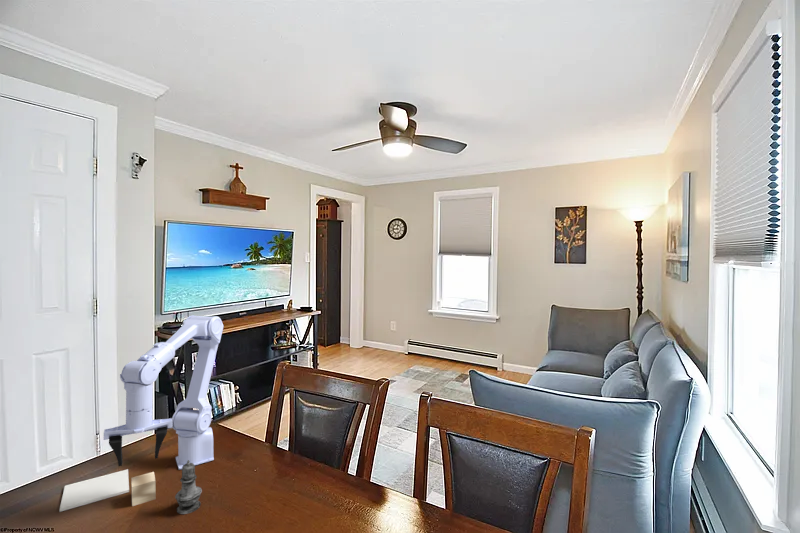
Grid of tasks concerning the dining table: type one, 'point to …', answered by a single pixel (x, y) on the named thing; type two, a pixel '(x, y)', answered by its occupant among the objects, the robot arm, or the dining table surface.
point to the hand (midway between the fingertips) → (138, 460)
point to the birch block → (143, 488)
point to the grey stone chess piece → (188, 490)
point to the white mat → (94, 490)
